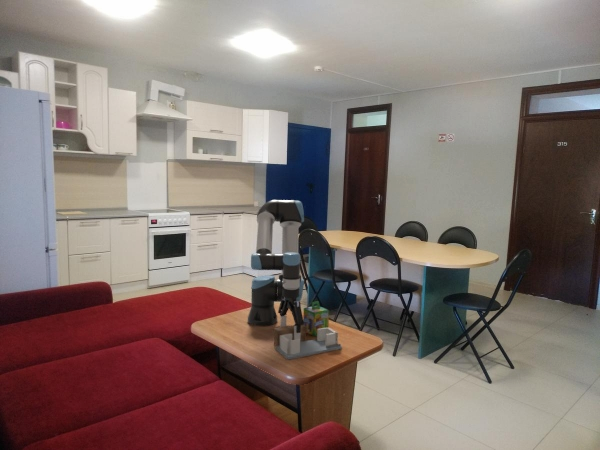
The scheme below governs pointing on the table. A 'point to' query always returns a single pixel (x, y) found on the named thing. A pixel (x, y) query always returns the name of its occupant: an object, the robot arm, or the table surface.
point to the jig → (302, 347)
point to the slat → (288, 330)
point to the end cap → (327, 336)
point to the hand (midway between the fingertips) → (290, 334)
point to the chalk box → (315, 318)
